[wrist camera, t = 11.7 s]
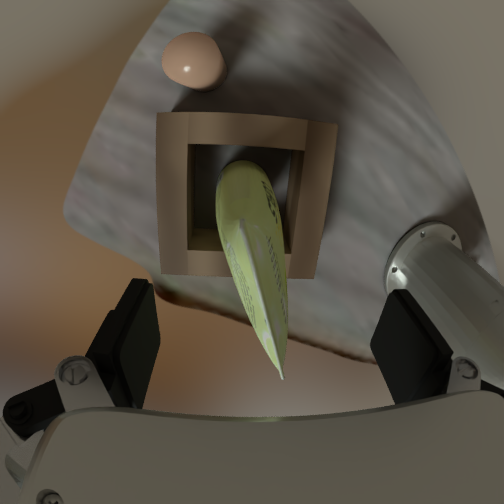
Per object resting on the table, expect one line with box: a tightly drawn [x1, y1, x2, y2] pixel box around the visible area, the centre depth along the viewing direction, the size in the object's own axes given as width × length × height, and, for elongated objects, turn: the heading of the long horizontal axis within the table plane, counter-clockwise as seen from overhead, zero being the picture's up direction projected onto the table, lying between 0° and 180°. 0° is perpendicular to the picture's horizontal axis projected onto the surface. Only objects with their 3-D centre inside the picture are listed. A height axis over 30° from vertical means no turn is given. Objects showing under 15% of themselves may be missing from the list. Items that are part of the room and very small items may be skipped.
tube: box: [216, 160, 288, 380], centre depth 19 cm, size 6×5×20 cm
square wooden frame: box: [156, 112, 338, 279], centre depth 25 cm, size 14×14×5 cm
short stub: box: [162, 32, 227, 92], centre depth 19 cm, size 4×4×7 cm
